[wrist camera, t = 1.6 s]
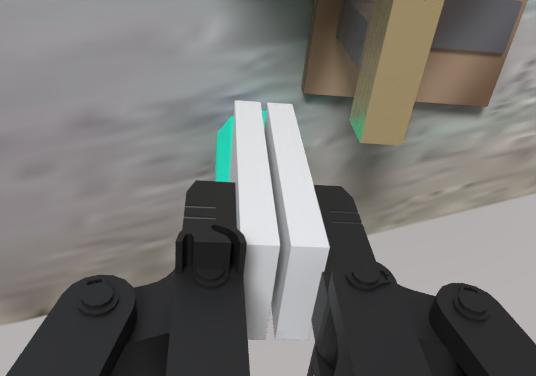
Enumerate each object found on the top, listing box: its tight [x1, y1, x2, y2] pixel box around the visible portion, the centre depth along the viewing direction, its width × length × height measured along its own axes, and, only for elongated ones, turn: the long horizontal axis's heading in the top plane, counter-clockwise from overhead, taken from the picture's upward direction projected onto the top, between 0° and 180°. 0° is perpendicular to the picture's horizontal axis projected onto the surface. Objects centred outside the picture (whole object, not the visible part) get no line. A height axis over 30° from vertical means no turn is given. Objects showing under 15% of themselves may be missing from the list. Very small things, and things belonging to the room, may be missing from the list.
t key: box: [336, 0, 444, 146], centre depth 27 cm, size 2×8×9 cm, turn 174°
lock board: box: [301, 0, 528, 107], centre depth 31 cm, size 13×11×2 cm
